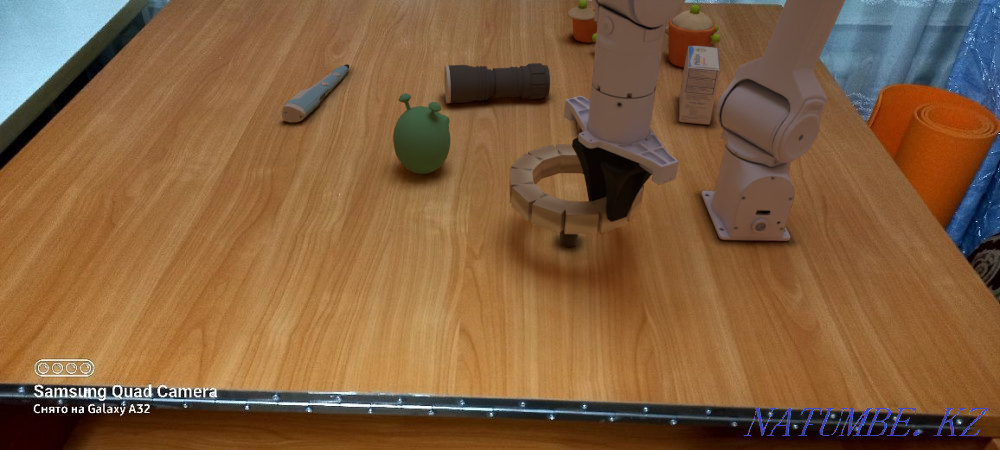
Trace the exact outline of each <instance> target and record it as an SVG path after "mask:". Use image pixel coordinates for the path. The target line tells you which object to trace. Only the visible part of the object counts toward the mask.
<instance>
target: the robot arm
mask: <svg viewBox="0 0 1000 450" xmlns="http://www.w3.org/2000/svg"><path fill="white" fill-rule="evenodd" d="M591 1H592V2H593V5H594V9H595V16H594V21H596V23H597V25H598V26H597V36H596V43H595V47H594V57H593V68H592V76H591V87H590V88H591V89H590V96H589V97H590V98H589V99H588V98H586V97H585V96H583V95H578V96H574V97H571V98H566V99H564V100H565V101H564V111H563V112H564V114H563V117H564V118H565V119H567V120H568V121H576V120H577V122H578V124H579V126H580V127H581V129H582V131H583V132H581V133H579V132H578V136H577V137H575V138H574V139H572V143H571V144H572V147H573V149H574V151H575V152H576V154H577V157H578V159H579V161H580V164H581V167H582V170H583V173H584V174H583V177H584V182H585V187H586V193H587V198H588V201H595V200H598V199H601V198H604V197H607V199H606V214H607V219H608V220H609V221H611V222H614V221H616V220H619V219H622V218H625V217H627V215H628V213H629V211H630V208H631V206H632V204H633V202H634V200H635V198H636V196H637V194H638V193H639V191H640V189H641V188H642V186H643V185H644V186H645V184H646V182H647V181H648V180H649V179H650V178H651V181H652V182H653V183H655V184H656V185H657V186H661V185H664V184H667V183H671V182H672V181H673V182H674V181H675V180H676V179H677V174H678V169H679V165H680V164H679V163H680V161H679V160H678V159H677V158H676V157H674V156H673V155H672V154H671V153H670V152H669V151H668V149H667V148H666V147H665V146H664V144H663V143H662V141H661V139H659V137H658V135H657V134H656V133H655V132H654V130H653V129H652V128H651V125H652V119H653V113H654V112H653V111H654V105H655V100H656V93H657V86H658V81H659V75H660V74H659V72H660V67H661V62H662V55H663V47H664V42H665V41H664V40H665V37H666V35H665V34H666V33H665V29H666V27H667V24H668V23H669V21H670V20H671V19H673V18H674V17H676V16H677V15H678V14H680V11H681V10H682V9H683V6H684V5H685V3H686V1H687V0H591ZM845 2H846V0H785V2H784V5H783V7H782V9H781V12H780V14H779V16H778V19H777V22H776V24H775V26H774V29H773V32H772V34H771V36H770V38H769V40H768V44H767V45H766V48H765V50H764V52H763V55H762V56H760V57H758V58H756V59H753V60H750V61H748V62H745V63H742V64H740V65H739V66H738V67H737V69H736V72H735V74H734V77H733V79H732V80H731V82H730V83H729V85H727V87H726V88H725V90H724V91H723V92H722V94H721V95H720V97H719V99H718V100H717V101H718V102H717V104H716V109H715V121H716V123H717V125H718V127H720V128H722V131H721V137H720V138H721V139H722V140H724V141H725V142H724V148H723V153H722V156H721V160H720V165H719V170H718V174H717V178H716V181H715V187H714V190H703V191H701V198H702V200H703V202H704V205H705V208H706V210H707V212H708V214H709V217H710V219H711V222H712V224H713V226H714V229H715V231H716V234H717V237H718V238H719V239H720V240H723V241H774V242H775V241H776V242H781V241H783V242H788V241H790V239H791V234H790V232H789V230H788V229H787V227H786V226H787V223H788V221H789V217H790V213H791V210H792V207H793V204H794V201H795V197H796V190H795V187H794V184H793V181H792V178H791V174H790V172H791V171H790V167H791V163H792V162H794V161H796V160H798V159H800V158H801V157H803V156H804V155H805V154H807V153H808V151H809V150H810V149H811V148H812V146H813V145H814V143H815V142H816V140H817V138H818V136H819V133H820V128H821V121H822V116H823V113H824V109H825V107H826V105H827V103H828V96H827V94H826V93H825V89H824V88H823V87H822V85H821V83H820V81H819V79H818V78H817V75H816V74H815V73H816V72H815V69H816V66H817V64H818V62H819V59H820V58H821V55H822V53H823V50H824V49H825V46H826V44H827V42H828V40H829V38H830V35H831V33H832V31H833V28H834V26H835V24H836V21H837V20H838V18H839V15H840V14H841V11H842V8H843V7H844V4H845ZM577 122H576V123H577Z"/></svg>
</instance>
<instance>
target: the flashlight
mask: <svg viewBox="0 0 1000 450" xmlns="http://www.w3.org/2000/svg"><path fill="white" fill-rule="evenodd" d="M443 72H444V73H443V76H444V77H443V80H444V81H443V82H444V83H443V84H444V96H445V103H446V104H465V103H470V102H475V101H478V102H479V101H487V100H489V98H491V97H493V98H519V97H520V98H521V99H522V98H523V99H524V98H526V99H528V100H542V99H543V98H548V97H549V95H550V91H551V75H550V69H549V66H548V65H547V64H544V65H543V63H541V62H536V63H534V62H533V63H528V64H527V65H520V66H510V67H493V68H492V69H491V68H488V67H487V66H486V65H479V66H478V65H476V66H472V65H468V64H449V65H446V64H445V65H444V69H443Z"/></svg>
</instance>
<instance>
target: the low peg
mask: <svg viewBox="0 0 1000 450" xmlns="http://www.w3.org/2000/svg"><path fill="white" fill-rule="evenodd" d="M578 239H579V234H565V233H564V229H563V230H562V231H561V232H560V233H559V238H558V242H559V244H560V245H561V246H563V247H565V248H573V247H575V246H576V245H577V244H578Z"/></svg>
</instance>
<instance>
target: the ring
mask: <svg viewBox="0 0 1000 450" xmlns="http://www.w3.org/2000/svg"><path fill="white" fill-rule="evenodd" d="M559 174H582V175H584V173H583V170H582V167H581V164H580V161H579V159H578V157H577V154H576V152H575V151H574V149H573V147H572V143H556V144H555V145H553V144H549V145H545V146H542V147H539V148H536V149H535V148H534V149H532V150H528V151H527V152H524V153H523V154H522V155H521V156H520V157H519V158H517V160H516V161H515V162H514V163H513V164H511V166H510V168H509V180H508V181H509V183H508V189H509V190H508V191H509V192H508V193H509V194H508V195H509V204H510V205H511V207H512V208H513V209H514V210H515V211H516V212H517V214H519V215H520V216H521V217H522V218H523V219H524V220H525V221H526V222H531V224H532V225H534V226H537V227H540V228H542V229H546V230H548V231H552V232H555V233H558V234H560V232H561V231H562V230H563V229H564V233H565V234H578V235H597V234H598V232H599V233H600V234H604V233H608V232H611V231H613V230H615V229H619V228H622V227H623V226H627V224H628V223H631V221H632V220H633V219H634V217H635V216H636V214H637V213H638V212H639V211H640V209H641V207H642V203H643V196H644V191H645V190H644V189H645V184H644V185H643V186H642V188H641V189H640V191H639V193H638V194H637V196H636V198H635V200H634V202H633V204H632V206H631V208H630V211H629V213H628V215H627V217H625V218H622V219H619V220H616V221H614V222H611V221H609V220H608V219H607V214H606V199H607V197H604V198H601V199H598V200H595V201H589V200H566V199H564V198H560V197H557V196H554V195H552V194H551V195H550V194H547V193H546V192H545V191H544V190H542V189H541V187H539V186H538V185H537V184H538V183H540V181H541V180H542V179H543V180H544V179H545V178H549V177H552V176H555V175H559Z"/></svg>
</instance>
